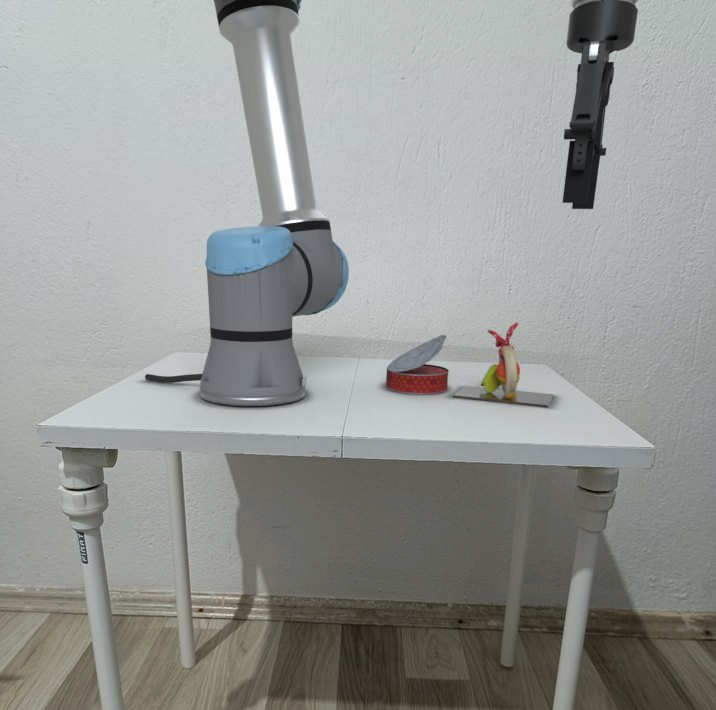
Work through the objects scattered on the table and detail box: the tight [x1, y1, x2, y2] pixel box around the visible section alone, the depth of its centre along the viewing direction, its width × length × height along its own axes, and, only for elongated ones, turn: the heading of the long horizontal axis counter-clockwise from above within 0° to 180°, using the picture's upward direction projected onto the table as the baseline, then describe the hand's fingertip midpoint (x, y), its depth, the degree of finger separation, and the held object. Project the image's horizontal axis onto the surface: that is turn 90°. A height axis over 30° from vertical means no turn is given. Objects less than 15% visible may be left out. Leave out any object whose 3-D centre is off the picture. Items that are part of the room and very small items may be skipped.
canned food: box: [385, 334, 450, 395], centre depth 105 cm, size 11×10×10 cm
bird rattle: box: [480, 321, 521, 399], centre depth 99 cm, size 6×11×9 cm
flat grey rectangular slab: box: [452, 385, 555, 408], centre depth 101 cm, size 14×8×1 cm, turn 68°
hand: (578, 206), depth 84 cm, fingers open, 13 cm apart
